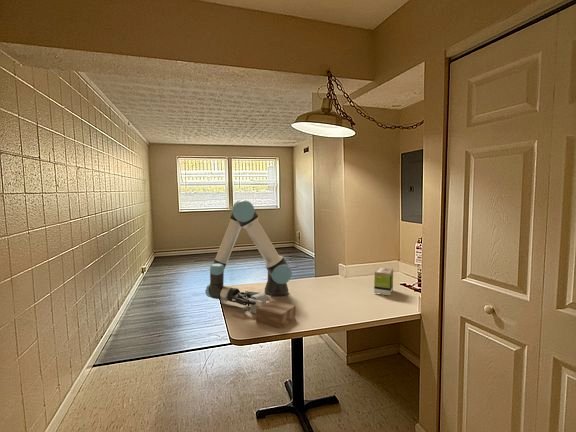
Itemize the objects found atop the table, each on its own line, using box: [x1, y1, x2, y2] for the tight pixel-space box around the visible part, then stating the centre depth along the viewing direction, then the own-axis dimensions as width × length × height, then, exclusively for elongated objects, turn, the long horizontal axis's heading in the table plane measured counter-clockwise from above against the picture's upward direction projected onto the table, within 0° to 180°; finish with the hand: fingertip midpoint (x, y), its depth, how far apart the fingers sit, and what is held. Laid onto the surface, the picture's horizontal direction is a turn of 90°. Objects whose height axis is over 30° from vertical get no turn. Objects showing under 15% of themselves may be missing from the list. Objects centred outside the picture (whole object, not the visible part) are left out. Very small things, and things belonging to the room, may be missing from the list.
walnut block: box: [255, 300, 296, 330], centre depth 153 cm, size 14×14×7 cm
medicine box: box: [249, 292, 267, 315], centre depth 165 cm, size 8×4×9 cm, turn 141°
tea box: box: [373, 267, 394, 296], centre depth 203 cm, size 15×10×15 cm, turn 154°
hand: (266, 301), depth 163 cm, fingers open, 9 cm apart
